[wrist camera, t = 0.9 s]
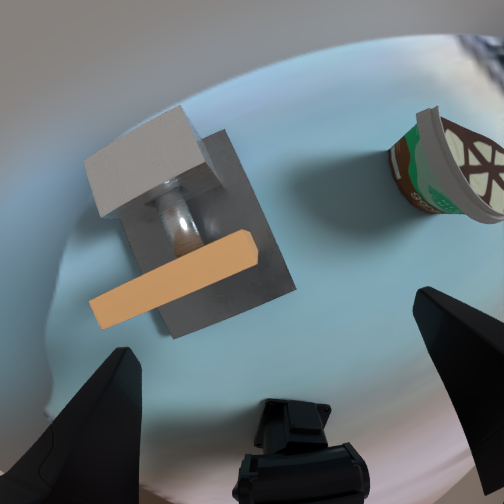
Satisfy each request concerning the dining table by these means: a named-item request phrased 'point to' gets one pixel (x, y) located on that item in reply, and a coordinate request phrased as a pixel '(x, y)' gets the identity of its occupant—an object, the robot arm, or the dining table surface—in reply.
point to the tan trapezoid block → (177, 265)
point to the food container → (449, 169)
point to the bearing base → (200, 206)
